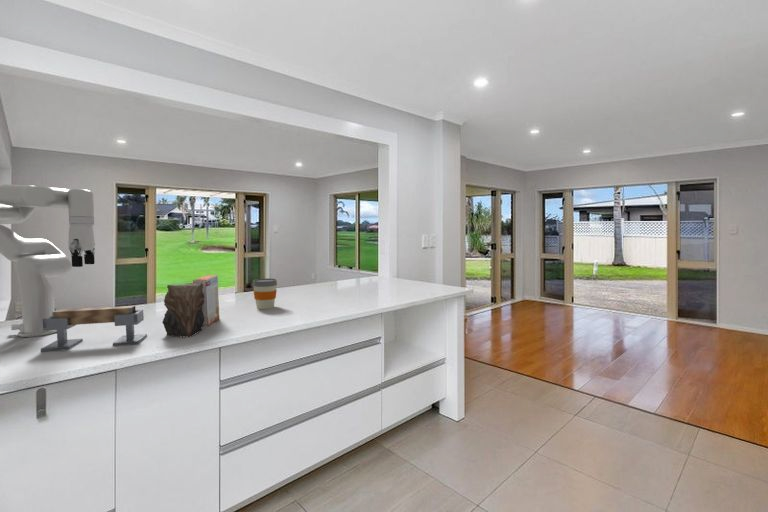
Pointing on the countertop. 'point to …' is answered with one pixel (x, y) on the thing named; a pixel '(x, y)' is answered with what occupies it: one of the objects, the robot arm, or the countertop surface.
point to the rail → (92, 314)
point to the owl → (184, 309)
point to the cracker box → (209, 298)
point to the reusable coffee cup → (265, 293)
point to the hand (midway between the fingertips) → (83, 265)
